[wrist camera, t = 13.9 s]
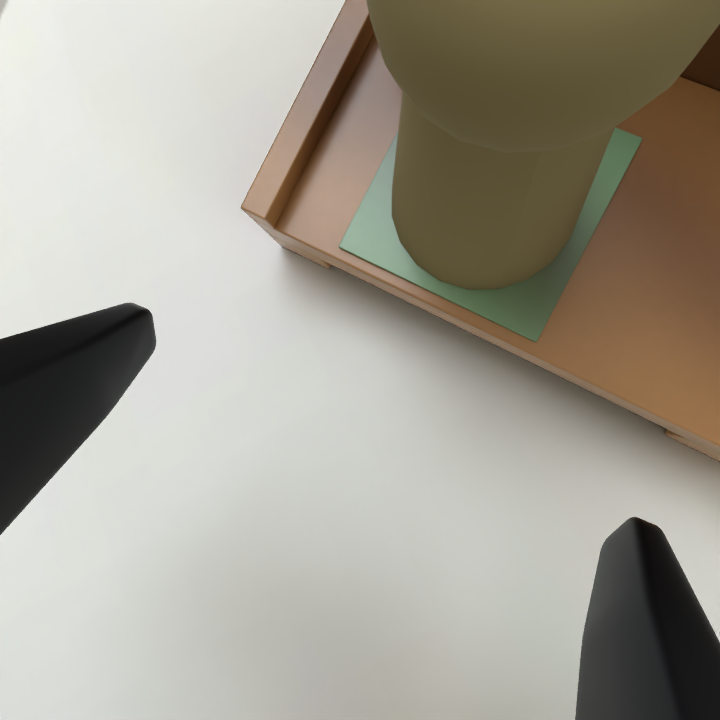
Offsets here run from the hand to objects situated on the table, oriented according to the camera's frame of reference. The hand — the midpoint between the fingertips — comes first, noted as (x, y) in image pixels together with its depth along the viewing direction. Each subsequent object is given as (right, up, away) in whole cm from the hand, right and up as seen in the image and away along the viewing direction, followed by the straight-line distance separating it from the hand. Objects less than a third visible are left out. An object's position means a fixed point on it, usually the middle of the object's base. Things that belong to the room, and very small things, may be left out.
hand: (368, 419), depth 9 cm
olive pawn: (+4, +6, +8) cm, 11 cm away
